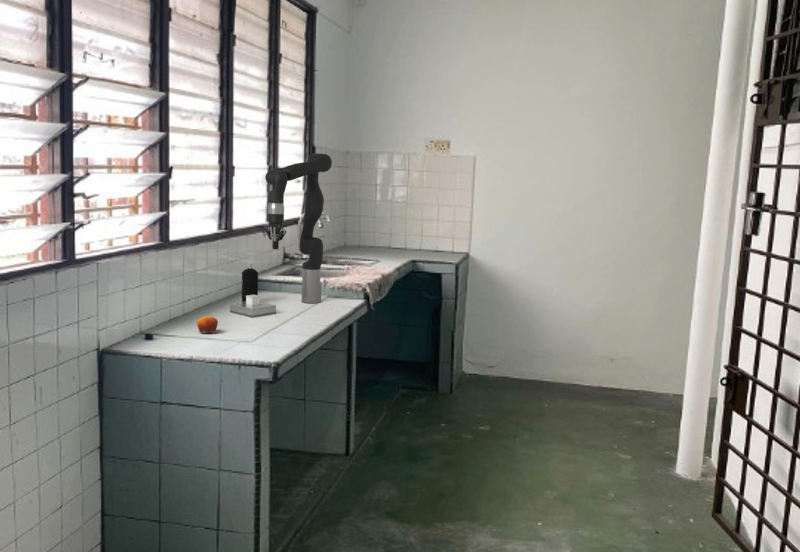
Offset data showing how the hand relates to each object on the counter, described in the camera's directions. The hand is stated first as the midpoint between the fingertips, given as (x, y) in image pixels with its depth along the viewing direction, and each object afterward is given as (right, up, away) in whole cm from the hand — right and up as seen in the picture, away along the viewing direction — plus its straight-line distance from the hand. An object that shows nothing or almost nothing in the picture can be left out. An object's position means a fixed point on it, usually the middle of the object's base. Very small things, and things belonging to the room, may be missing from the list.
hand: (275, 249), depth 343 cm
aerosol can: (-15, -27, +13) cm, 33 cm away
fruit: (-19, -36, -49) cm, 64 cm away
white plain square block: (-9, -29, -7) cm, 31 cm away
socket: (-9, -30, -7) cm, 32 cm away
